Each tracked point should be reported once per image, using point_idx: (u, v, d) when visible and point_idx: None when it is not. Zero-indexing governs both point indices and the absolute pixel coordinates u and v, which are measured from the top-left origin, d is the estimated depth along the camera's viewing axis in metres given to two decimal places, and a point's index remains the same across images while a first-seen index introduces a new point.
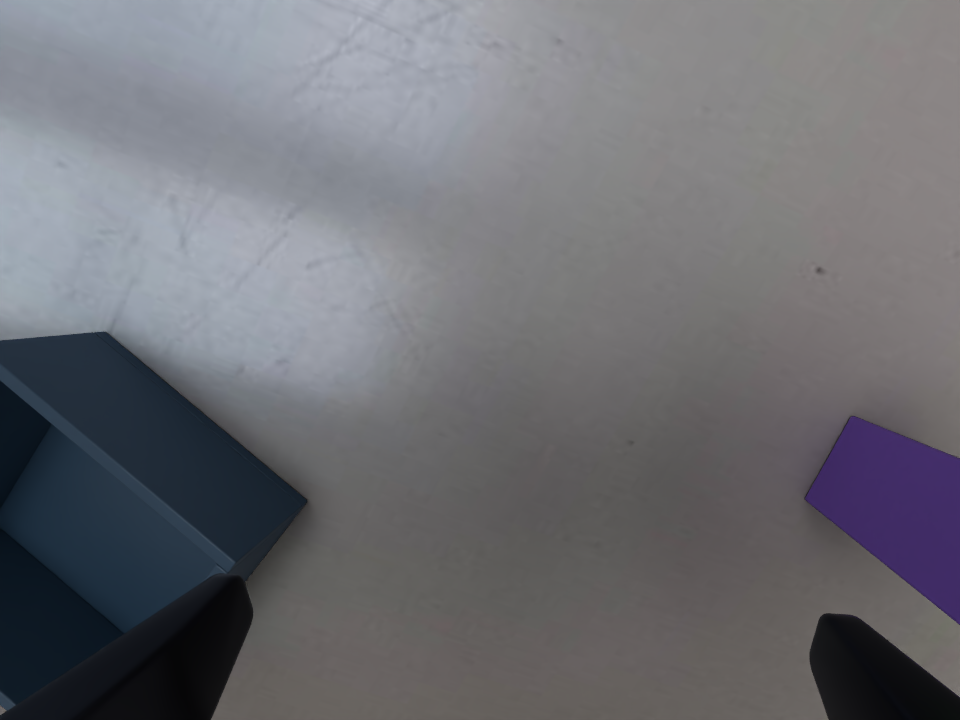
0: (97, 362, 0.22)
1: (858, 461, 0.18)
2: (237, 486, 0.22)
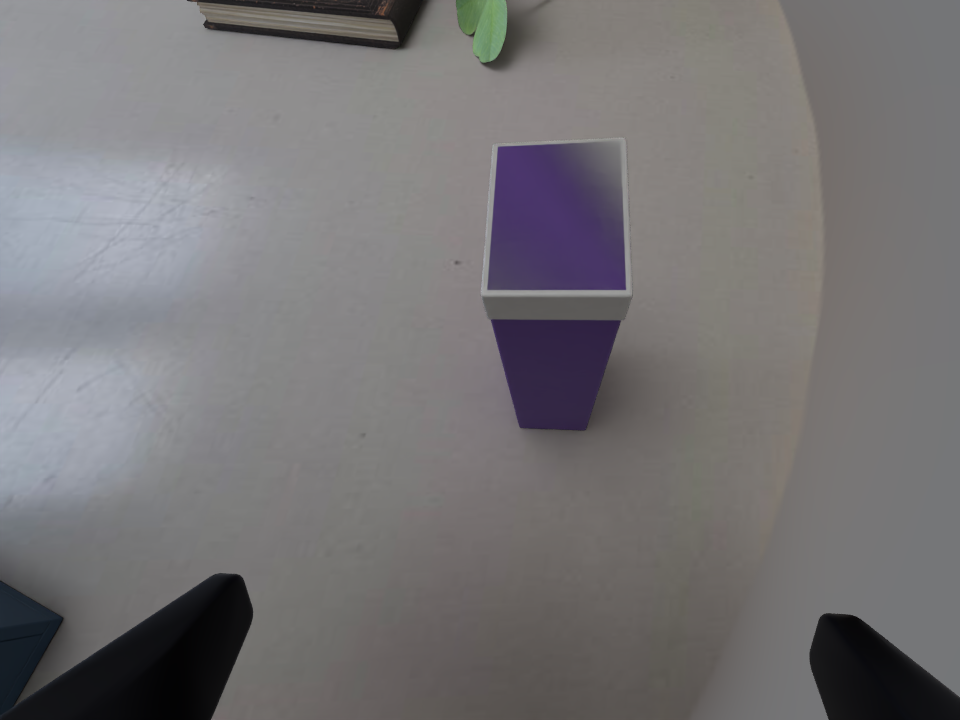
0: None
1: None
2: None
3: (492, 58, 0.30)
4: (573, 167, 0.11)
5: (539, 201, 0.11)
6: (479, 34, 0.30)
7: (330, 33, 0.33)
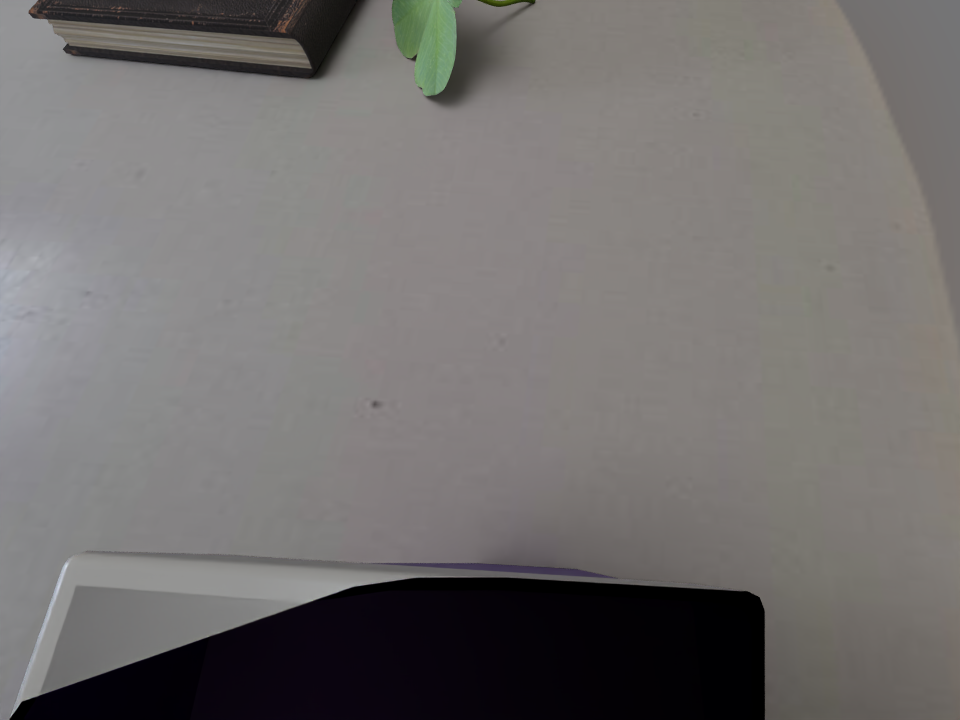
0: None
1: None
2: None
3: (439, 90, 0.21)
4: None
5: None
6: (422, 57, 0.22)
7: (223, 58, 0.24)
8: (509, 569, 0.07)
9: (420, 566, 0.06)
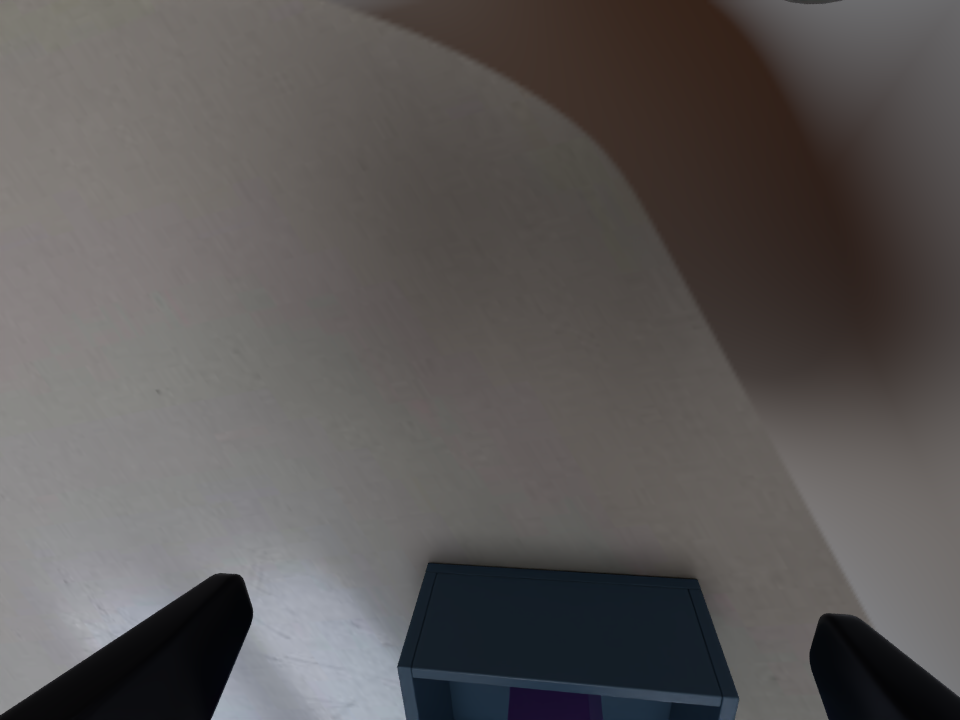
0: None
1: None
2: None
3: None
4: None
5: None
6: None
7: None
8: None
9: None
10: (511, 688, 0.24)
